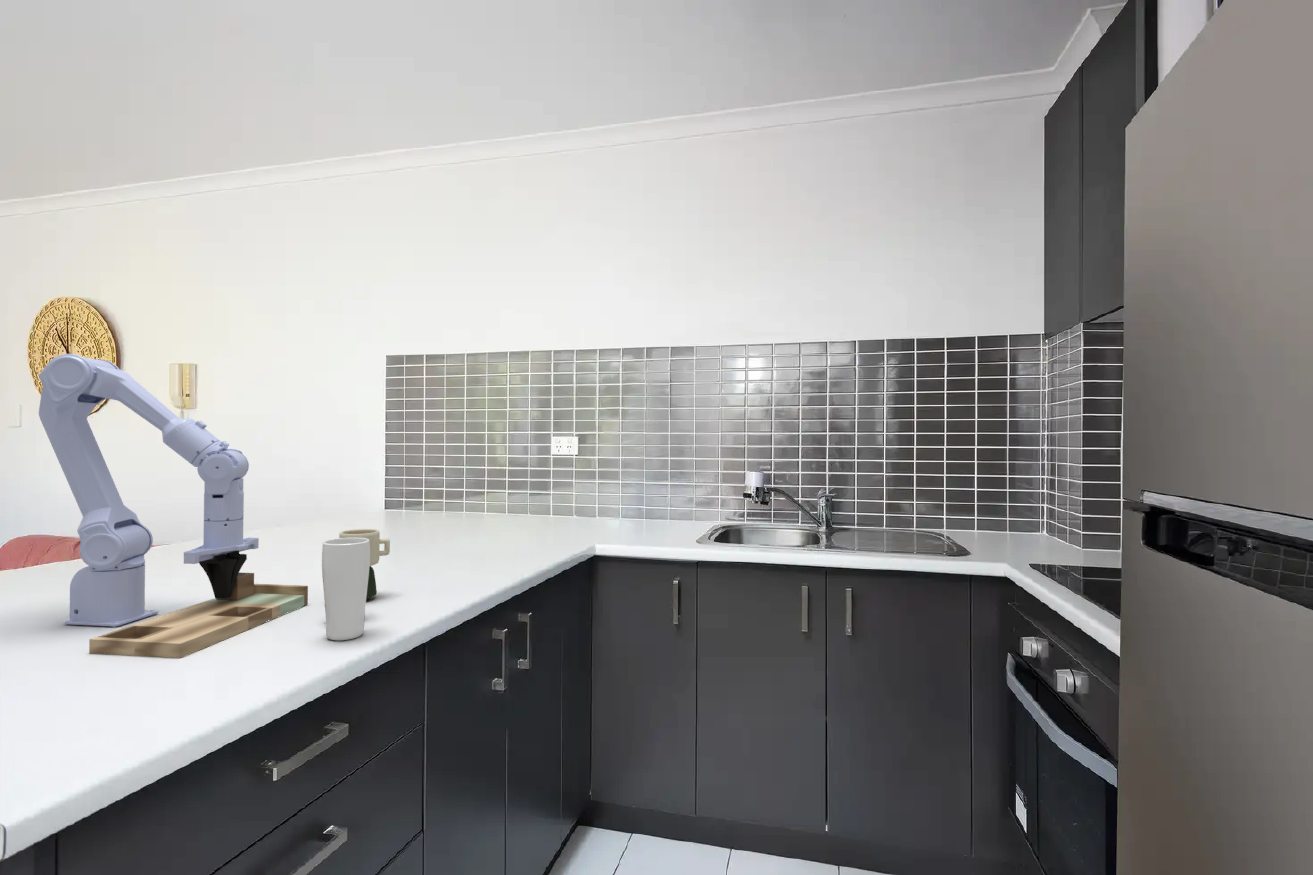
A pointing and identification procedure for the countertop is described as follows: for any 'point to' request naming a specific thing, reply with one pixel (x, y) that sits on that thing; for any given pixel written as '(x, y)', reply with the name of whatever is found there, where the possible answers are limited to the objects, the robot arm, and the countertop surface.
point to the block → (242, 587)
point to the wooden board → (201, 624)
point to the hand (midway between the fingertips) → (222, 597)
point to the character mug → (374, 552)
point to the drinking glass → (345, 586)
